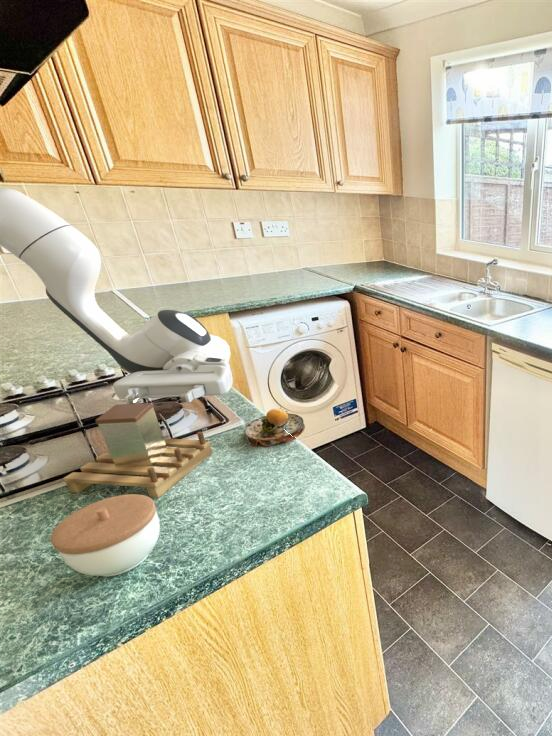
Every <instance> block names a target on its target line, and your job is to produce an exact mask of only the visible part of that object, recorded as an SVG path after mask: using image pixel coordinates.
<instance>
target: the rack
mask: <svg viewBox="0 0 552 736" xmlns="http://www.w3.org/2000/svg"><path fill="white" fill-rule="evenodd" d="M196 435H197V438H198V439H183V438H171V437H170V438H168V437H164V440H165V443H166V446H167V449H166V450H165V451H164V452H163V454H162V455H161V456H160V457H159V458H158V459H157V460H156V461H155V462H154V464H153V465H147V466H133V467H120V468H116V466H115V464H114V461H113V459H112V457H111V454H110V452H103V453H102V454H100V455H97V457H95V460H96V462H92V461H89V462H87V463H84V465H82V466H81V467H79V469H80V471H81V472H78V471H77V472H76V471H72V472H71V473H69V474H67V475H66V476H64V477H63V481H64V482H65V485H66V486H67V489H68V490H69V493H75V494H80V493H82V492H83V491H85V490H86V489H87V488H89V487H90V486H92V485H93V484H94V485H109V486H123V487H124V486H125V487H140V488H146V489H145V490H146V491H147V493H148V497H149V498H151V499H152V498H153V499H154V498H155V499H159V498H161V497H162V496H163V495H164V494H165V493H167V492H168V491H169V490H170V489H171V488H173V486H175V485H176V484H177V483H179V482H180V481H181V480H182V479H184V477H186V476H187V475H188V474H189V473H190V472H192V471H193V470H195V468H196V467H198V466H199V465H200V464H201V463H203V462H204V461H205V460H206V459H207V458H208V457H210V456H211V455H212V454H213V450H212V446H211V441H210V440H206V439H205V437H204V436H205V435H204V432H203V431H198V432H196Z"/></svg>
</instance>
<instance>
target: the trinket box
mask: <svg viewBox="0 0 552 736" xmlns="http://www.w3.org/2000/svg"><path fill="white" fill-rule="evenodd" d="M160 525H161V523H160V518H159V514H158V512H157V507H156V504H155V501H154V500H153V499H152V498H151V497H149V496H148V495H145V494H137V493H136V494H135V493H131V494H130V493H129V494H128V493H127V494H121V495H120V494H119V495H115V496H111V497H107V498H104V499H101V500H98V501H95V502H92V503H90V504H88V505H86V506H83V507H81V508H80V509H77V510H75V511H74V512H73V513H71V514H69V515H68V516H67V517H65V518H64V519H63V520H61V521H60V522H59V523H58V524H57V525H56V526H55V528H54V529H53V531H52V533H51V534H50V543H51V545H52V546H53V548H54V550H56V551H57V552H58V554H59V556H60V558H61V559H62V561H63V562H65V564H66V565H67V566H68V567H70V568H71V569H72V570H74V571H76V572H78V573H79V574H83V575H85V576H86V575H87V576H95V577H107V578H108V577H115V576H119V575H122V574H125V573H127V572H130V571H131V570H133V569H135V568H137V567H138V566H139V565H141V564H142V563H143V562H144V561H145V560H146V559H147V558H148V557H149V555H150V553H151V552H152V551H153V549H154V548H155V546H156V544H157V542H158V540H159V538H160V532H161V530H160V529H161V528H160V527H161V526H160Z"/></svg>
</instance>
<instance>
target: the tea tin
mask: <svg viewBox="0 0 552 736" xmlns="http://www.w3.org/2000/svg"><path fill="white" fill-rule="evenodd" d="M154 406H155V405H154V403H153V402H143V403H142V402H139V403H137V404H126V403H119V404H114V405H113V406H112V407H110V408H109V409H108V410H106V411H105V412H104V413H102V414H101V415H100V416H99V417H98V418H96V419H95V424H96V425H98V427H99V430H100V432H101V435H102V438H103V440H104V442H105V444H106V445H105V446H106V448H107V449H108V453H110V454H111V457H112V459H113V461H114V464H115V466H116V468H120V467H133V466H154V465H153V464H154V462H155V461H156V460H157V459H158V458H159V457H160V456H161V455H162V454H163V452H164V451H165V450H166V449H167V446H166V443H165V440H164V438H165V437H164V435H163V434H164V433H163V431H162V429H161V425H160V423H159V421H158V420H159V419H158V417H157V414H156V412H155V408H154ZM161 457H162V456H161Z"/></svg>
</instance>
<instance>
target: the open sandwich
mask: <svg viewBox="0 0 552 736" xmlns="http://www.w3.org/2000/svg"><path fill="white" fill-rule="evenodd" d="M304 422H305V421H304V418H303V417H302V416H300V415H298V414H295V413H289V412H288V410H286V411H285V410H284V409H282V406H280V407H279V408H271V409H270V410H269V411H267V412H266V415H265V416H261V417H259V418H256V419H255V420H254V419H253V421H251V422H250V423H248V424H247V426H246V428H245V429H244V431H243V432H244V433H243V436H244V437H245V438H246V439H247V441H248V443H249V446H254V447H258V442H259V443H260V444H261V445H263V446H265V447H270V446H275V445H277V444H280V443H282V442H285V443H288V442H290V441H293V440H294V438H298V437H299V436H301V435H302V434H303V432H304V431H305V428H306V425H305V423H304ZM284 429H285V430H286V431H287V432H288V433H290V434H291V435H292V436H293V437H294V438H293V437H292V436H291V435H290V434H288V433H287V432H286V431H285V430H284Z"/></svg>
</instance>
